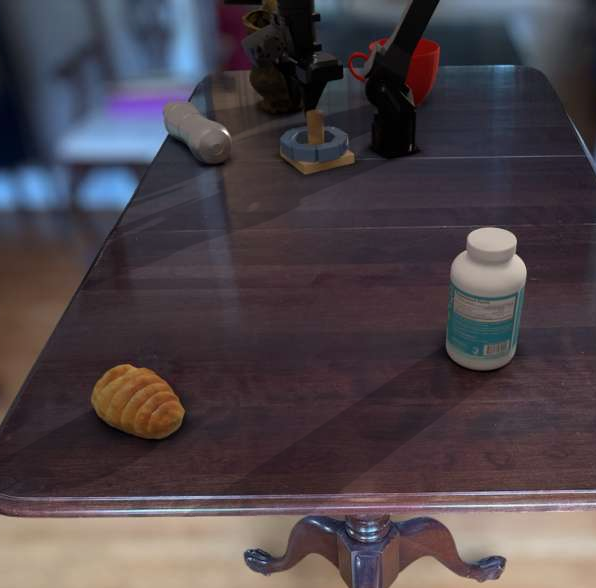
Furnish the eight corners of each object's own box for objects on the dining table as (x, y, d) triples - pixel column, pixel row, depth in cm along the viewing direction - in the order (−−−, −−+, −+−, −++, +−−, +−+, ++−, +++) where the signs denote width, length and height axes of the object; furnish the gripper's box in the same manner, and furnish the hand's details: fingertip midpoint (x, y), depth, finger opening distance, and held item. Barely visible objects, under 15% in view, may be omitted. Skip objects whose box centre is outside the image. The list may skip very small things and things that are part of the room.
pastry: (204, 417, 69) (197, 386, 66) (149, 456, 65) (139, 426, 62) (142, 379, 73) (133, 350, 71) (86, 415, 69) (75, 384, 67)
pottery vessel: (270, 82, 147) (260, -29, 134) (323, 83, 146) (317, -29, 133) (244, 126, 128) (229, 1, 115) (304, 127, 127) (295, 2, 114)
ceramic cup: (351, 91, 142) (349, 36, 135) (436, 92, 141) (438, 37, 135) (346, 114, 132) (345, 56, 126) (438, 115, 132) (441, 56, 125)
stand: (328, 145, 121) (326, 99, 116) (354, 163, 115) (353, 115, 110) (280, 155, 118) (276, 109, 113) (304, 174, 112) (301, 126, 107)
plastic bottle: (231, 121, 111) (185, 87, 123) (190, 134, 108) (148, 98, 121) (240, 160, 115) (195, 123, 128) (202, 174, 113) (160, 135, 126)
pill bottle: (469, 324, 80) (481, 213, 71) (527, 349, 77) (546, 235, 68) (431, 355, 76) (437, 241, 67) (490, 383, 72) (505, 266, 64)
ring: (328, 133, 121) (327, 121, 120) (358, 153, 114) (358, 141, 113) (272, 145, 117) (271, 133, 116) (300, 167, 110) (299, 154, 109)
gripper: (220, -3, 108) (233, 103, 118) (271, 27, 96) (280, 142, 106) (287, -11, 112) (294, 92, 122) (344, 17, 100) (346, 128, 111)
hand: (302, 112), depth 115 cm, fingers open, 5 cm apart
